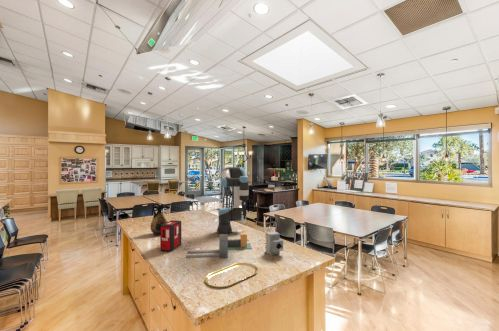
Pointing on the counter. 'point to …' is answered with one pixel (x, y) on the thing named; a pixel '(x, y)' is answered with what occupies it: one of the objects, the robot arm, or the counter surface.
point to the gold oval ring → (230, 268)
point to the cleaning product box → (170, 236)
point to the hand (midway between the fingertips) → (243, 221)
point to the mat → (241, 247)
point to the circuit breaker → (273, 243)
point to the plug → (239, 241)
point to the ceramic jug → (157, 219)
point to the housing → (222, 250)
